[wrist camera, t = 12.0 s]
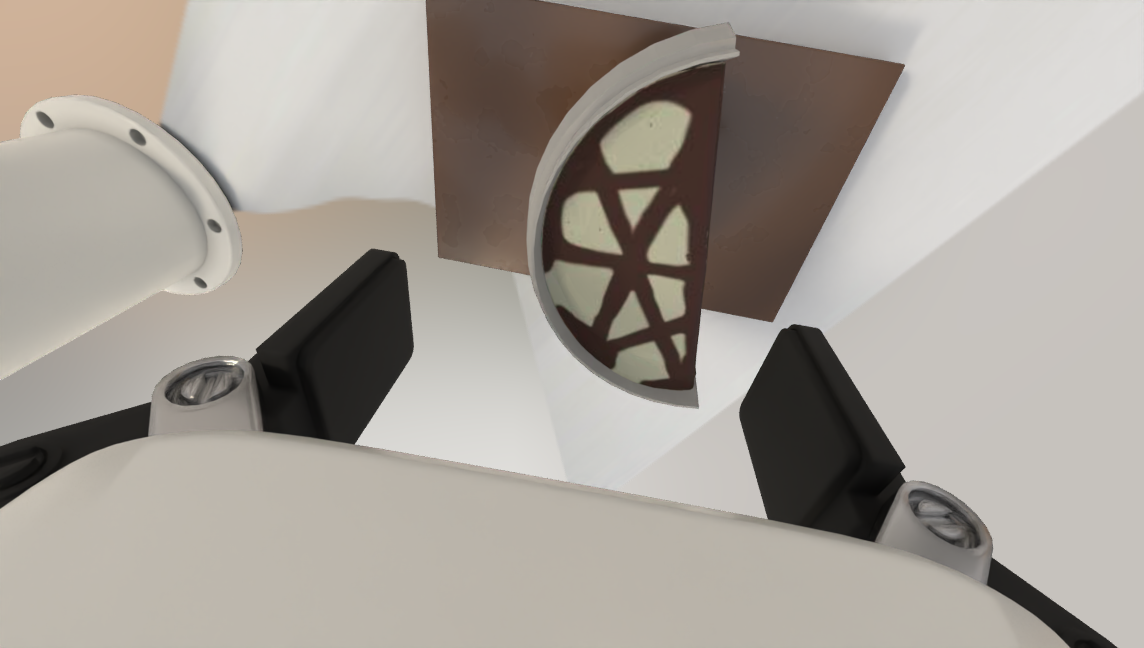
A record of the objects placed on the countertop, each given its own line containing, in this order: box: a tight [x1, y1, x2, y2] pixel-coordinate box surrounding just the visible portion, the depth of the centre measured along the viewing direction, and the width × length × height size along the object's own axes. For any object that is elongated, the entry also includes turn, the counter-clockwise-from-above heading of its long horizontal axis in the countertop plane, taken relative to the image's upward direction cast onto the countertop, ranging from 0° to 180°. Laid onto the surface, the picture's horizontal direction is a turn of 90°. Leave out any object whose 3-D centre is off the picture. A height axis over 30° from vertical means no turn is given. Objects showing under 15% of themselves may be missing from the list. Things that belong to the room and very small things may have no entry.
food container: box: [526, 22, 740, 409], centre depth 17 cm, size 12×6×10 cm, turn 5°
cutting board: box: [426, 0, 905, 322], centre depth 22 cm, size 20×13×2 cm, turn 82°
